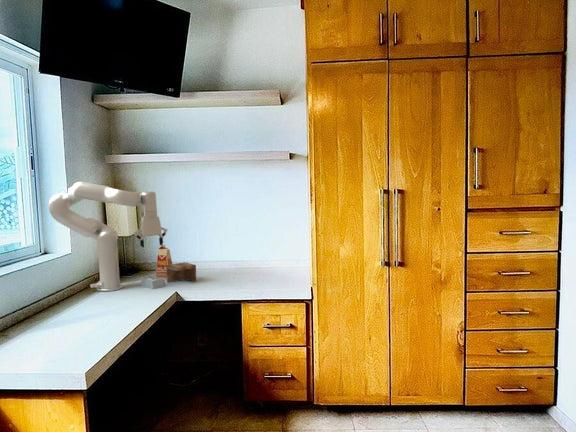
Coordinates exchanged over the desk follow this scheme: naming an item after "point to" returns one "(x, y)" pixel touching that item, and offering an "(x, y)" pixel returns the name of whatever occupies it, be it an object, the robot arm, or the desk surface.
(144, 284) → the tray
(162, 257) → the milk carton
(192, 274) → the counter
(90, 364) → the desk surface
